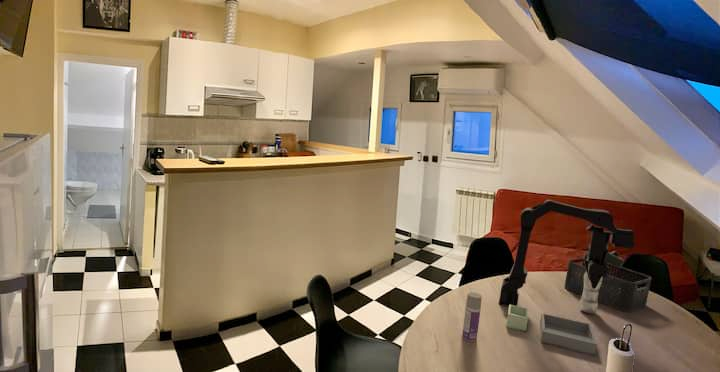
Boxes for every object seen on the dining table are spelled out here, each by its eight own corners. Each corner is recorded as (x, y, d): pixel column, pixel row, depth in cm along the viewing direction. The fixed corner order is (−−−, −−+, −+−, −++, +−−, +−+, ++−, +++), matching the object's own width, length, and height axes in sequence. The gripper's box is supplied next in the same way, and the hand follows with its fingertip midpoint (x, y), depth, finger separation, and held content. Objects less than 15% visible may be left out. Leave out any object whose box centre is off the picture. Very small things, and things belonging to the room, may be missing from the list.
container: (477, 336, 137) (482, 293, 135) (476, 343, 133) (481, 299, 131) (462, 333, 139) (467, 291, 136) (461, 339, 134) (466, 296, 132)
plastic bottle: (599, 316, 161) (608, 268, 158) (581, 314, 162) (589, 265, 159) (593, 310, 167) (601, 262, 164) (576, 307, 169) (583, 260, 166)
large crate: (540, 342, 137) (542, 331, 136) (539, 322, 151) (541, 312, 151) (595, 356, 131) (597, 344, 130) (588, 334, 145) (590, 323, 145)
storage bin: (649, 306, 177) (655, 276, 175) (626, 314, 166) (632, 282, 164) (584, 282, 201) (588, 256, 199) (560, 288, 190) (565, 260, 188)
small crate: (506, 326, 146) (508, 313, 145) (507, 316, 154) (509, 304, 153) (525, 331, 143) (527, 318, 143) (526, 321, 152) (528, 308, 151)
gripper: (629, 254, 140) (621, 297, 143) (619, 242, 157) (612, 281, 160) (592, 248, 145) (585, 290, 147) (586, 237, 162) (580, 275, 164)
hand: (592, 284), depth 154 cm, fingers open, 9 cm apart
